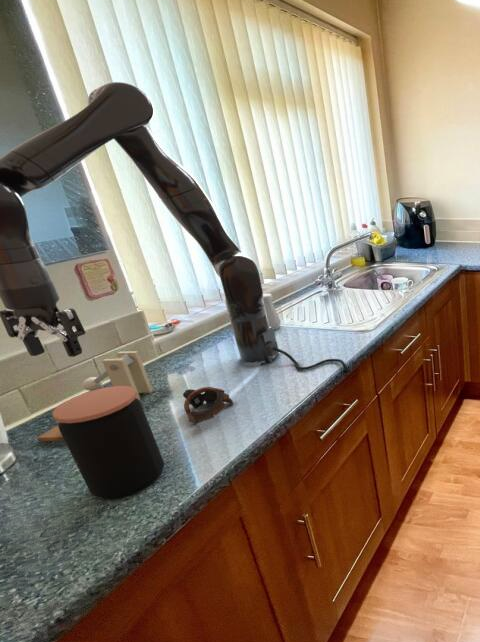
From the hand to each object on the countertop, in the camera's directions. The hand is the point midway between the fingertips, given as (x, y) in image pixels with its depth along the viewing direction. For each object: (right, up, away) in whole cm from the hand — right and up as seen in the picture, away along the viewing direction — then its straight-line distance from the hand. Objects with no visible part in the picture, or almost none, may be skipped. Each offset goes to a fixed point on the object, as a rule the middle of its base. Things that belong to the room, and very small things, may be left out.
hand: (56, 354), depth 87 cm
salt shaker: (+11, +4, +61) cm, 62 cm away
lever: (-2, -7, +14) cm, 16 cm away
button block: (+2, -18, +4) cm, 19 cm away
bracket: (+2, -13, +16) cm, 21 cm away
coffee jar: (+25, -24, -9) cm, 36 cm away
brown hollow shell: (+25, -16, +11) cm, 31 cm away
